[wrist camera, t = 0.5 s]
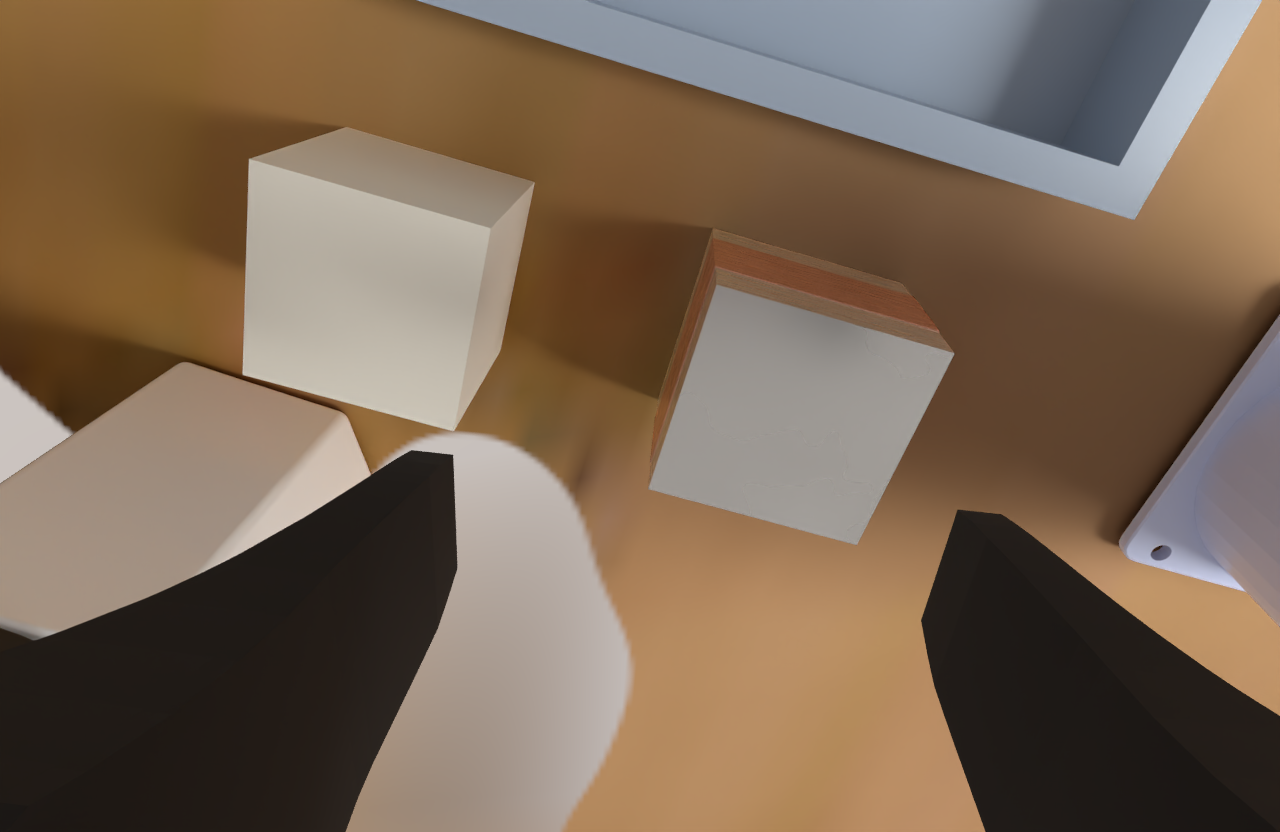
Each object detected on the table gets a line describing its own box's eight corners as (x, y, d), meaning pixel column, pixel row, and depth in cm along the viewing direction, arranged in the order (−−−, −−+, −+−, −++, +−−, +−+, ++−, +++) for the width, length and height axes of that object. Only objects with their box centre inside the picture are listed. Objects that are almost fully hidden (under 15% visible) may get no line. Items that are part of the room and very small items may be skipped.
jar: (226, 301, 20) (-299, 623, 10) (454, 505, 23) (240, 939, 12) (58, 482, 23) (-480, 877, 13) (275, 644, 26) (-20, 1085, 15)
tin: (901, 280, 19) (956, 352, 15) (827, 445, 21) (857, 546, 17) (712, 225, 18) (715, 283, 15) (657, 398, 21) (647, 489, 17)
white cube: (535, 181, 18) (490, 227, 14) (501, 349, 20) (453, 431, 16) (347, 126, 18) (249, 158, 14) (332, 303, 20) (242, 374, 16)
